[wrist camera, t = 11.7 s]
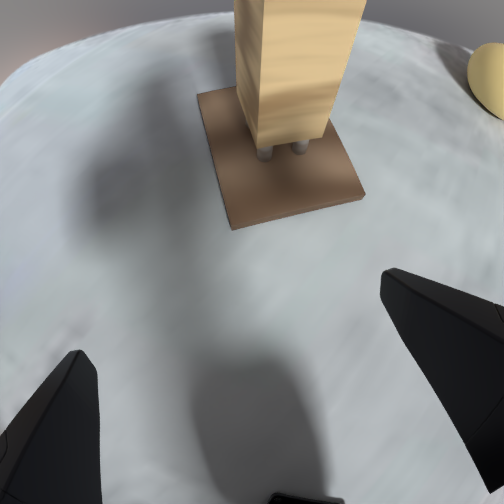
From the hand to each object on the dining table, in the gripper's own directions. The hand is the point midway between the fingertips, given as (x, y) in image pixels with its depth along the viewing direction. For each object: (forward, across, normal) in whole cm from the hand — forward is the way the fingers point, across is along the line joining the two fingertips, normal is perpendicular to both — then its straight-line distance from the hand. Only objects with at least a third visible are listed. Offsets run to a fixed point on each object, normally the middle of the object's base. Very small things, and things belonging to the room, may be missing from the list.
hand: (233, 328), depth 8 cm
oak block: (+17, -7, -4) cm, 19 cm away
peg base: (+20, -7, -1) cm, 21 cm away
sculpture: (+23, -42, -4) cm, 48 cm away
